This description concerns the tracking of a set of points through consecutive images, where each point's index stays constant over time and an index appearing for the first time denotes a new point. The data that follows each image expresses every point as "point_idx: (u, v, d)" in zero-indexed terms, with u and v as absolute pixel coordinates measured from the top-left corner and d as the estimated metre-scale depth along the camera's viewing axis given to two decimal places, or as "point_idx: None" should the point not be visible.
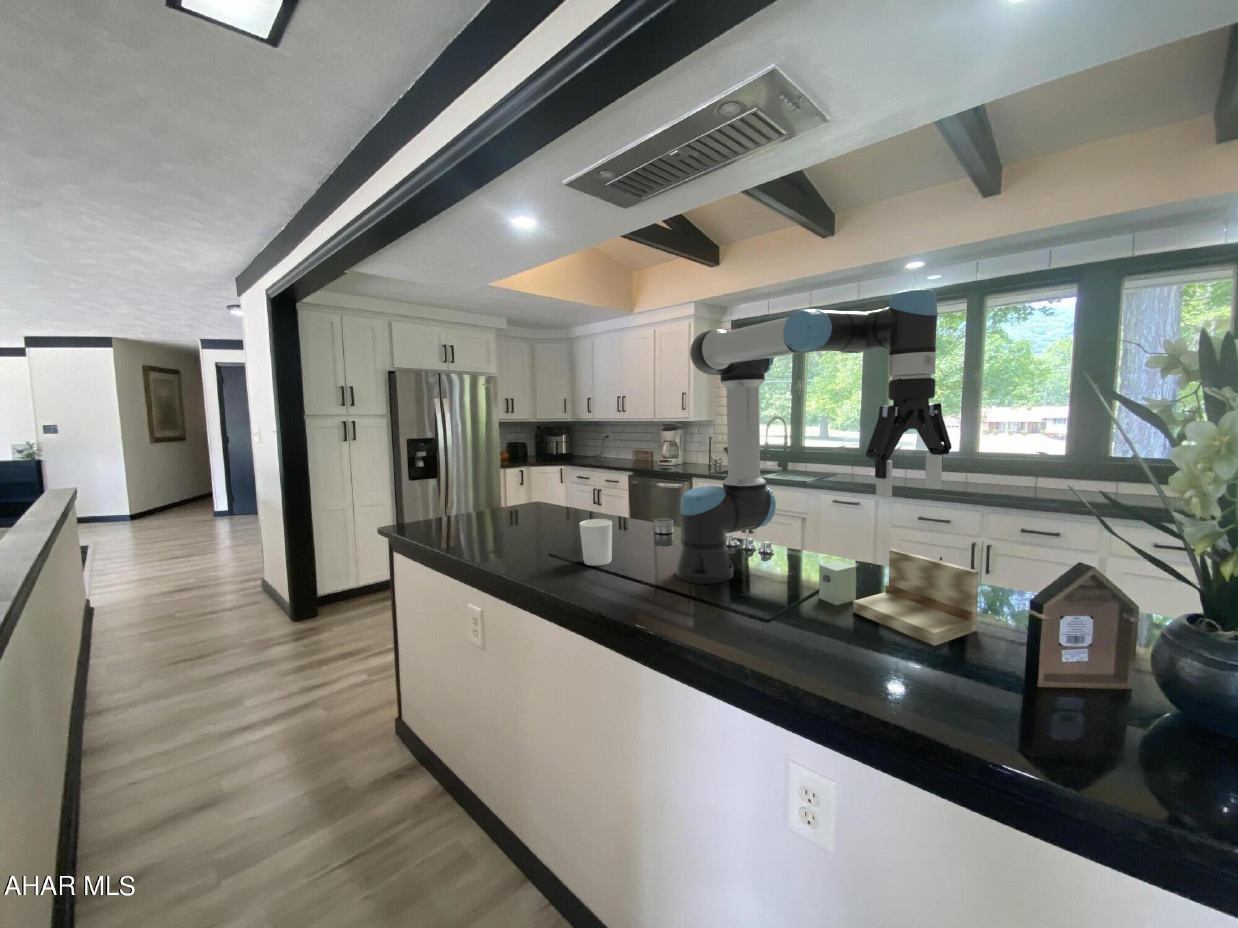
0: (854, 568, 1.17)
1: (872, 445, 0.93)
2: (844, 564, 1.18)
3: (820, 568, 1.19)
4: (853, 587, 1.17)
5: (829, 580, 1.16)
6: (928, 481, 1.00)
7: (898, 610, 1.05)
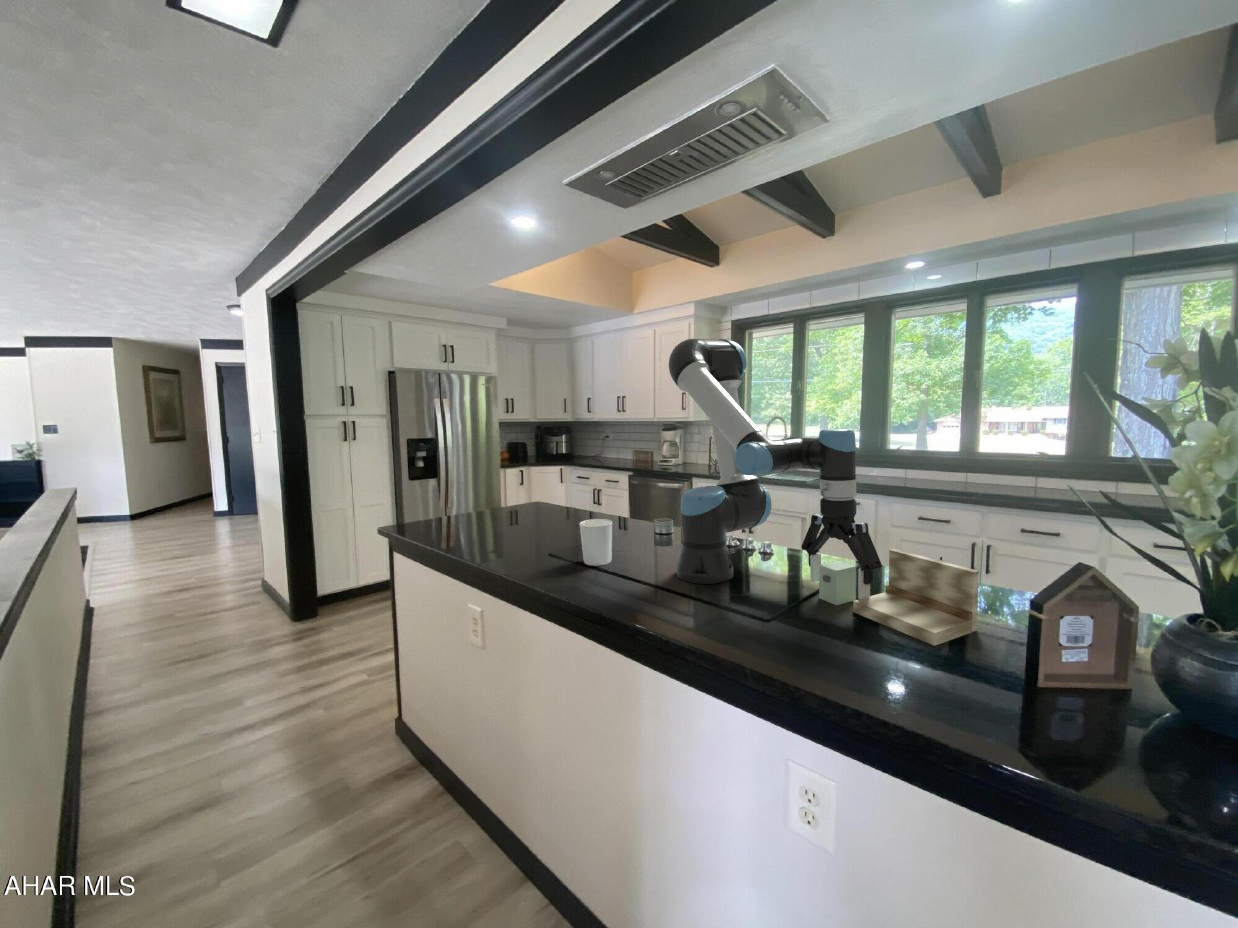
0: (854, 568, 1.17)
1: None
2: (844, 564, 1.18)
3: (820, 568, 1.19)
4: (853, 587, 1.17)
5: (829, 580, 1.16)
6: None
7: (898, 610, 1.05)
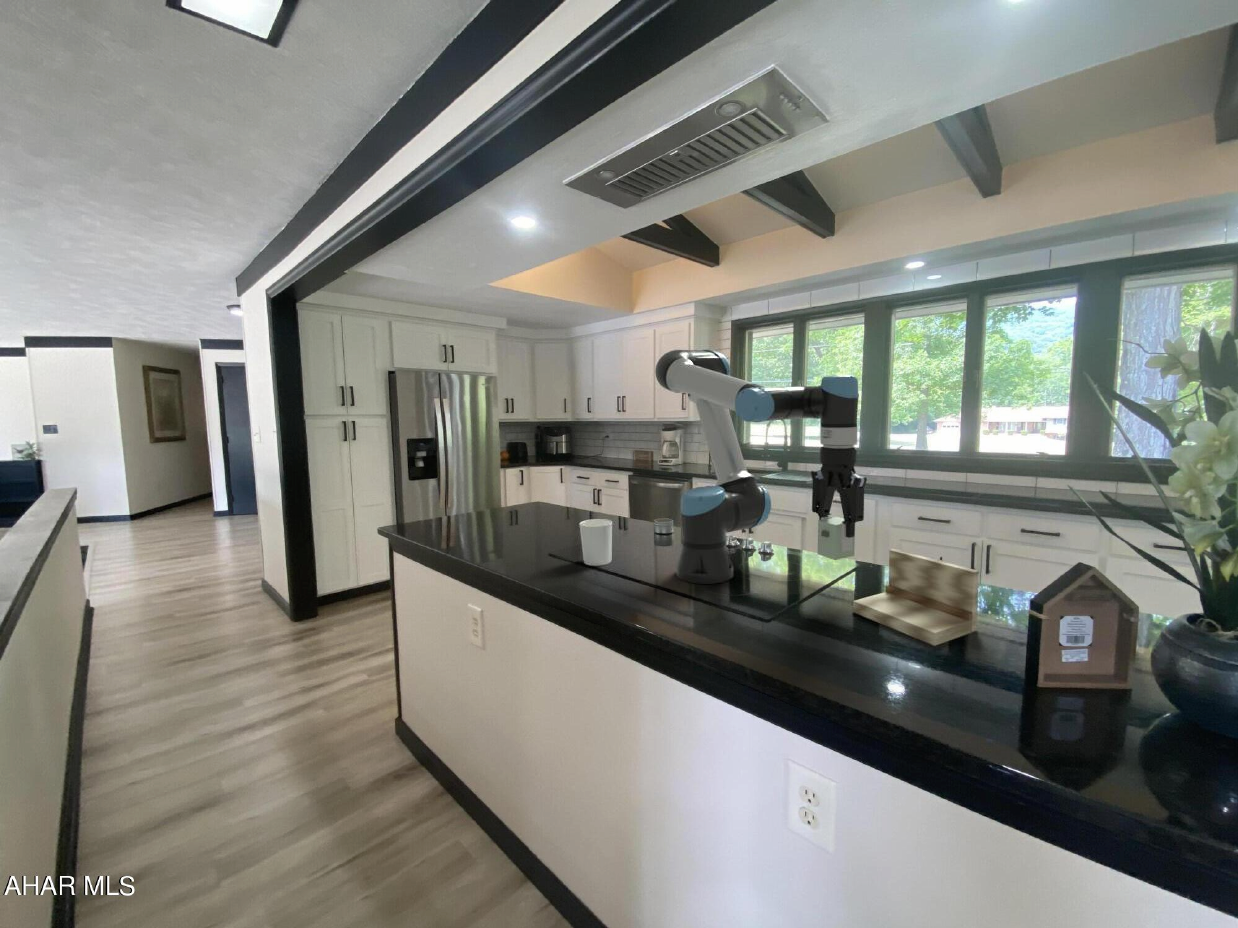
0: None
1: None
2: (843, 520, 1.17)
3: (819, 523, 1.18)
4: None
5: (828, 535, 1.15)
6: None
7: (898, 610, 1.05)
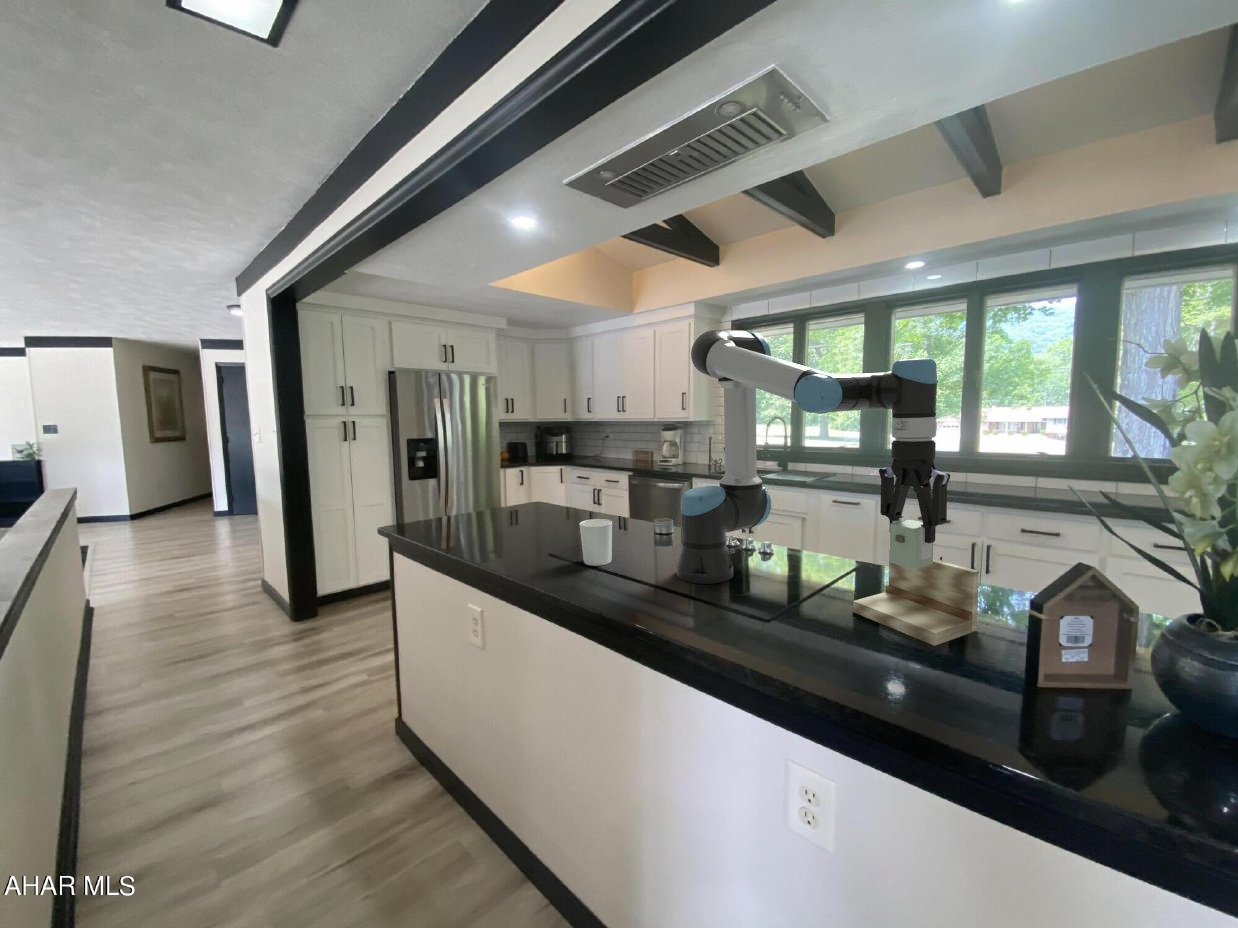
0: None
1: None
2: (919, 523, 1.03)
3: (891, 527, 1.04)
4: None
5: (903, 540, 1.01)
6: None
7: (898, 610, 1.05)
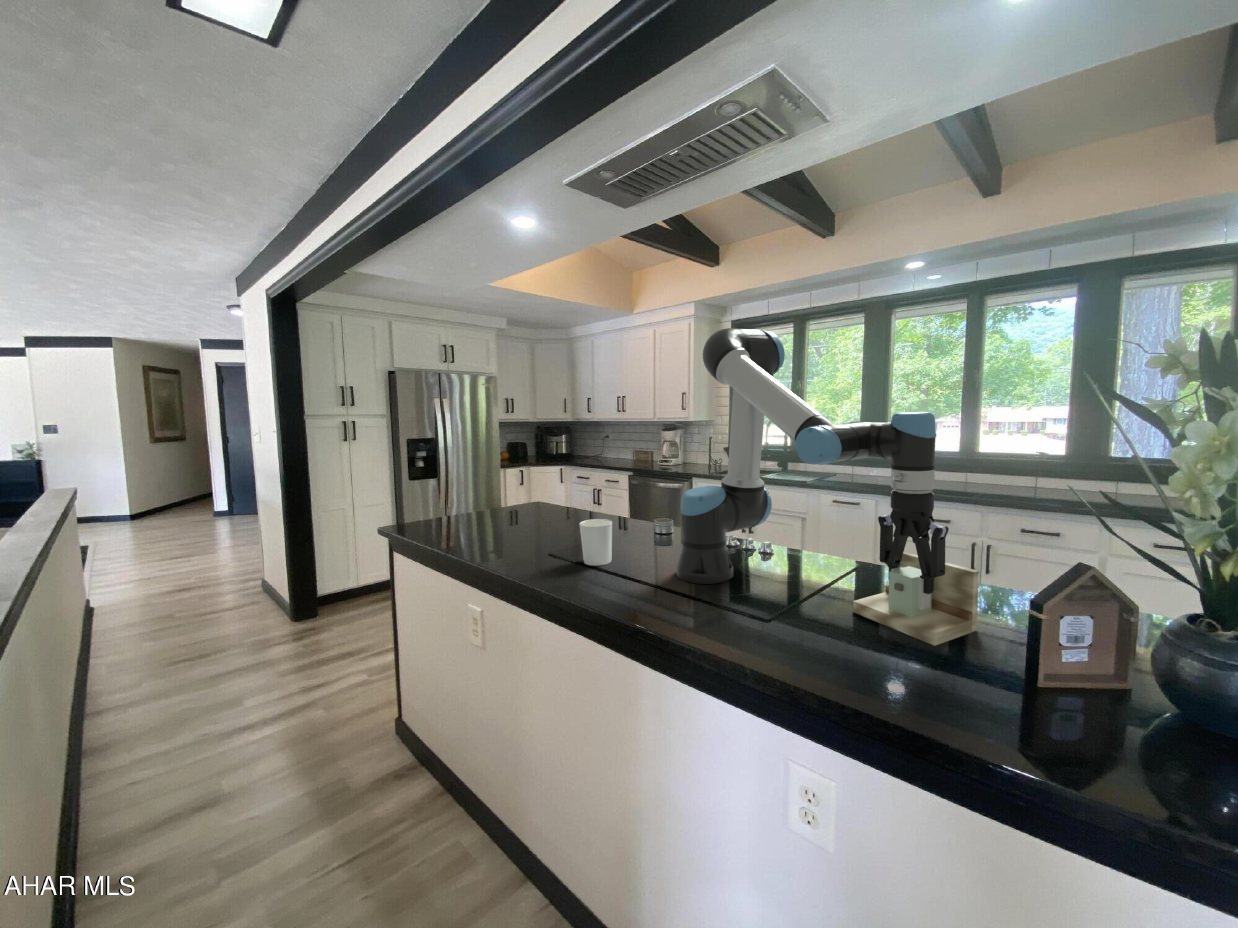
0: None
1: None
2: (918, 570, 1.05)
3: (890, 575, 1.05)
4: None
5: (902, 589, 1.02)
6: None
7: None
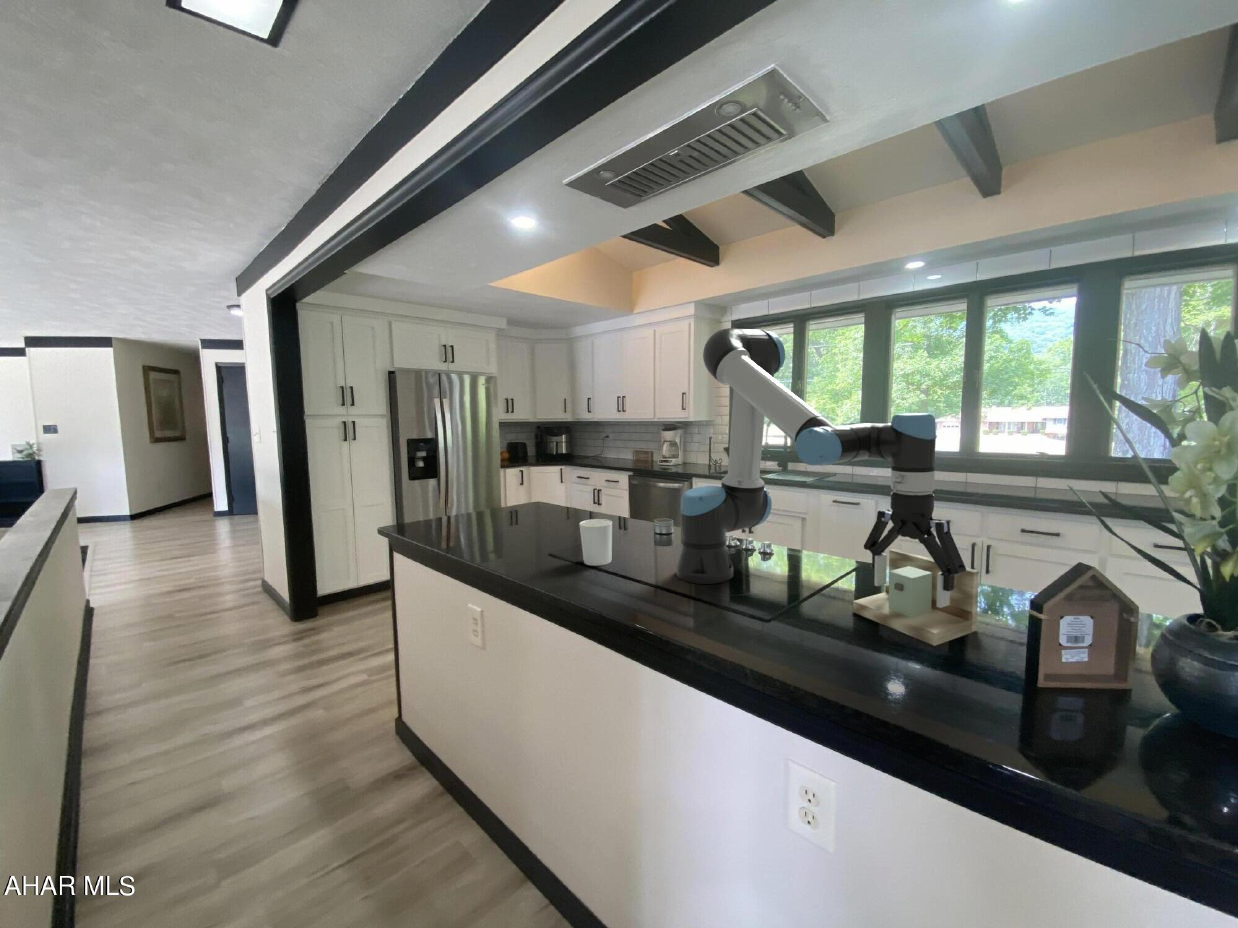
0: (930, 575, 1.03)
1: None
2: (918, 570, 1.05)
3: (890, 575, 1.05)
4: (928, 596, 1.03)
5: (902, 589, 1.02)
6: None
7: None
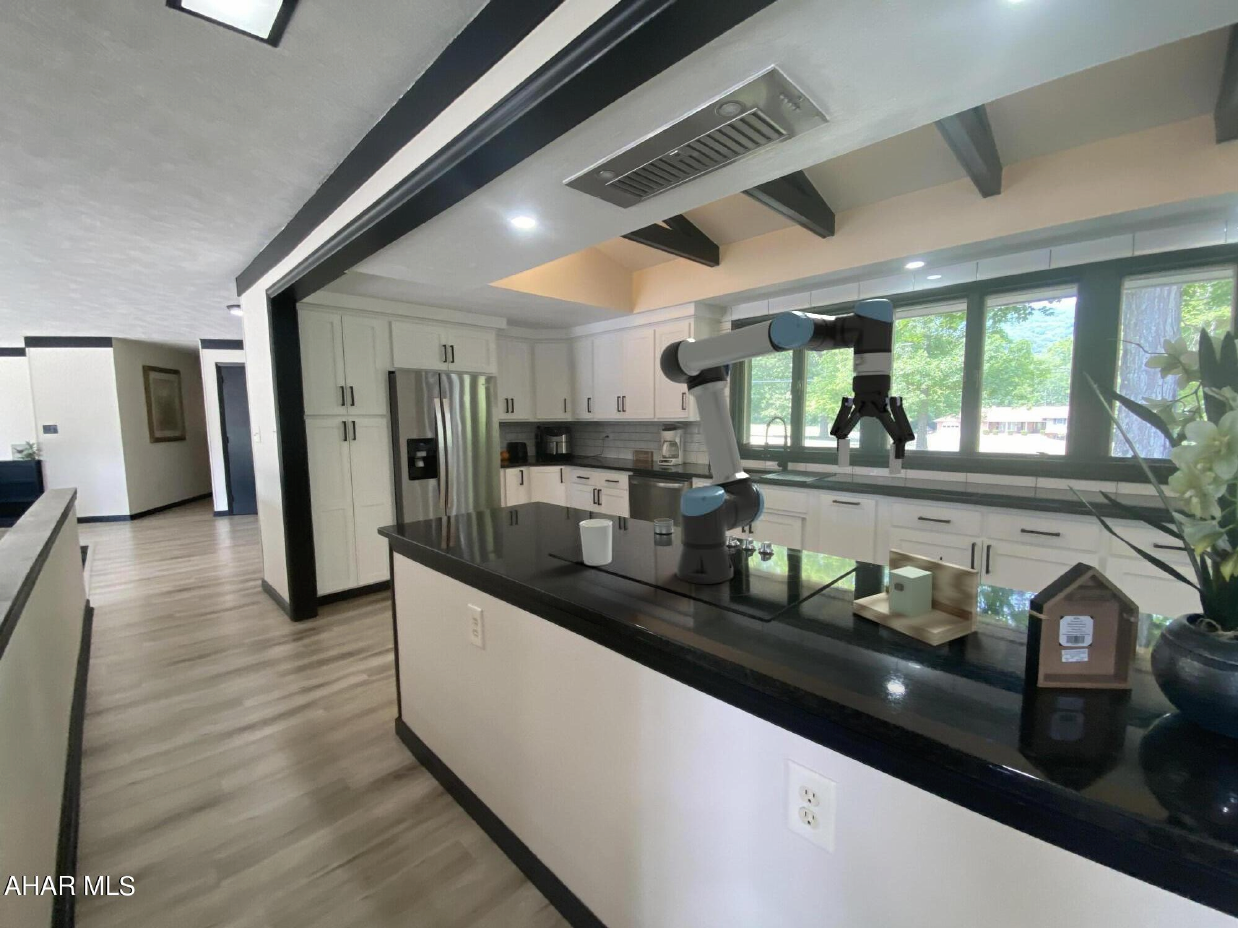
0: (930, 575, 1.03)
1: None
2: (918, 570, 1.05)
3: (890, 575, 1.05)
4: (928, 596, 1.03)
5: (902, 589, 1.02)
6: None
7: None
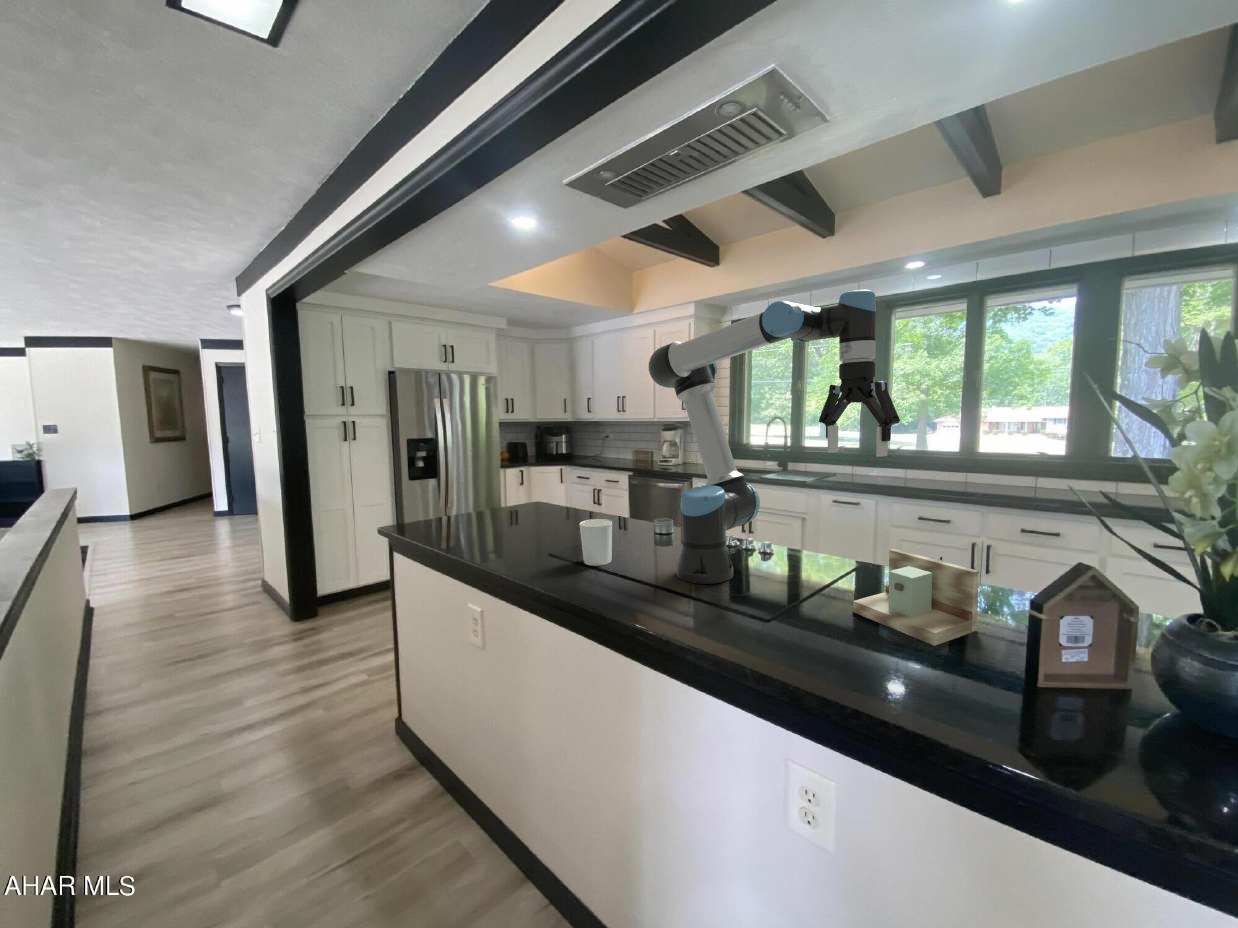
0: (930, 575, 1.03)
1: None
2: (918, 570, 1.05)
3: (890, 575, 1.05)
4: (928, 596, 1.03)
5: (902, 589, 1.02)
6: None
7: None
